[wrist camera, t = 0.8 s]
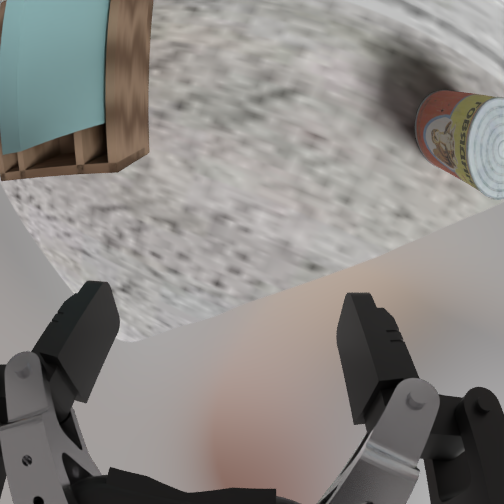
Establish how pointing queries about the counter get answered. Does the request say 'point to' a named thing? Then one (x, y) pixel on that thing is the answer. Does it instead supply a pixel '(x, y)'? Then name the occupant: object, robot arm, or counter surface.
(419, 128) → the canned food
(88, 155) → the rack
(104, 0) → the teal board
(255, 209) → the counter surface
